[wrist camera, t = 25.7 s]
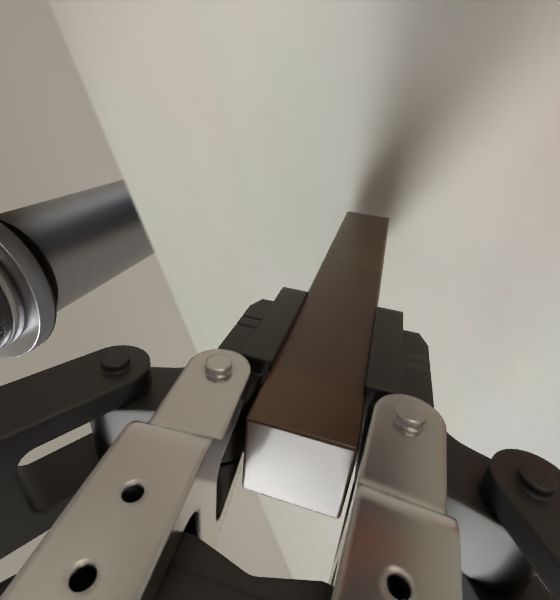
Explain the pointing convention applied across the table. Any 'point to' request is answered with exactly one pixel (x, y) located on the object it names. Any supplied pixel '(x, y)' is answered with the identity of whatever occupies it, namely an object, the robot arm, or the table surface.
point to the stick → (320, 379)
